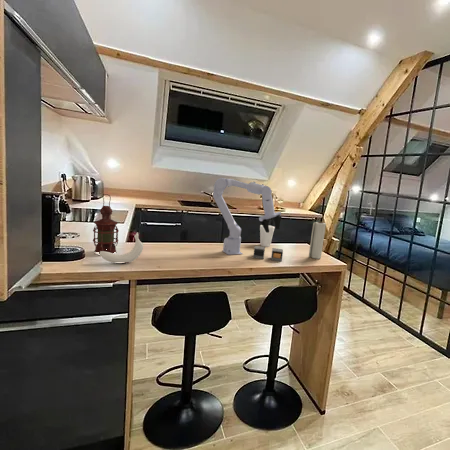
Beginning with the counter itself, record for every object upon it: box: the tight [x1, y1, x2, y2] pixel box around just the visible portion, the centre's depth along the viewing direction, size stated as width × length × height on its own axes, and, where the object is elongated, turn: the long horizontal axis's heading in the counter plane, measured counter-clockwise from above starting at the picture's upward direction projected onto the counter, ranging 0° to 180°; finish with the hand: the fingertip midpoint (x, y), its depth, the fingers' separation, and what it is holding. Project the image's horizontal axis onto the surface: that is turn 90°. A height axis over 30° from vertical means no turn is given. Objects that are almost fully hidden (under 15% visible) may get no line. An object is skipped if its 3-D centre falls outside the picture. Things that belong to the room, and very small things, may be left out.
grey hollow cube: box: [252, 245, 266, 260], centre depth 172 cm, size 6×6×6 cm
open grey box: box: [270, 247, 284, 262], centre depth 170 cm, size 6×6×6 cm
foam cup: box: [259, 224, 276, 248], centre depth 200 cm, size 10×9×13 cm
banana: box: [99, 232, 144, 263], centre depth 140 cm, size 5×19×15 cm, turn 110°
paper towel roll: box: [308, 221, 327, 260], centre depth 180 cm, size 7×6×21 cm
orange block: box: [273, 252, 281, 258], centre depth 170 cm, size 4×4×4 cm
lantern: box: [92, 193, 120, 253], centre depth 152 cm, size 12×12×30 cm
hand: (272, 230), depth 173 cm, fingers open, 7 cm apart
